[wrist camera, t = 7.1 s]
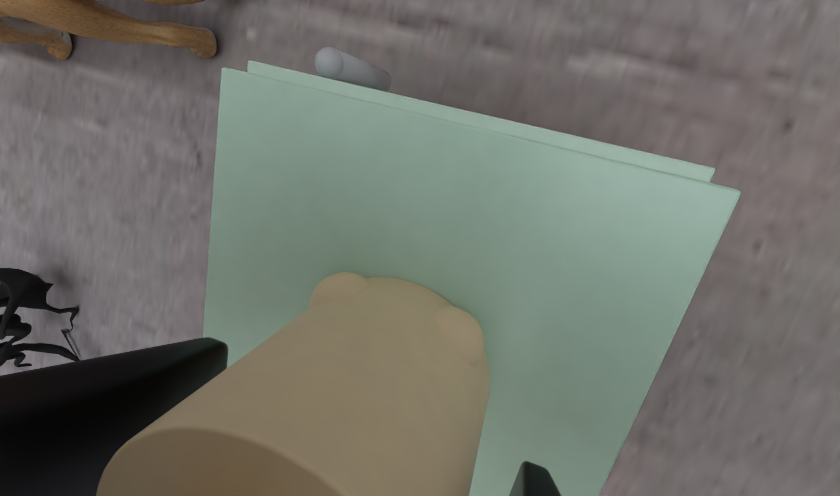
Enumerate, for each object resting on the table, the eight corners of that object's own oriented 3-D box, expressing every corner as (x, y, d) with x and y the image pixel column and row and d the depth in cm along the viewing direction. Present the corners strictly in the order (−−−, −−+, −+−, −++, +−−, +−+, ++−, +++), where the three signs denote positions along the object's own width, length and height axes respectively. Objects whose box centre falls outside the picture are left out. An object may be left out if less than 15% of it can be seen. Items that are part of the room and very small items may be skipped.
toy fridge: (648, 135, 14) (772, 131, 6) (538, 422, 18) (536, 632, 10) (372, 73, 16) (223, 16, 8) (325, 343, 20) (192, 470, 12)
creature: (105, 381, 26) (111, 300, 22) (1, 452, 22) (-19, 367, 17) (13, 307, 27) (0, 213, 22) (-106, 360, 22) (-152, 256, 18)
